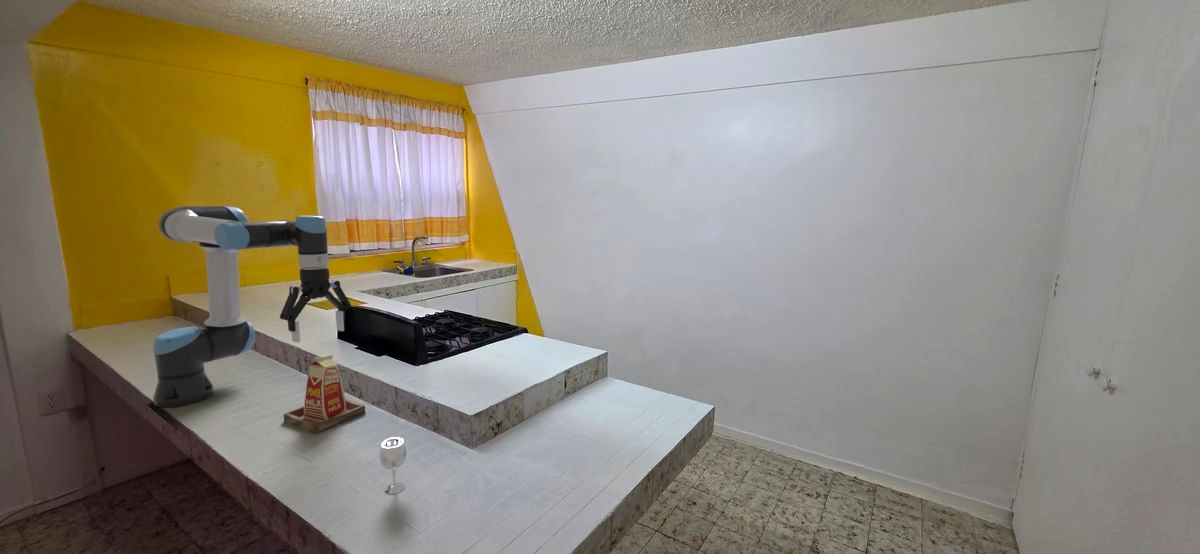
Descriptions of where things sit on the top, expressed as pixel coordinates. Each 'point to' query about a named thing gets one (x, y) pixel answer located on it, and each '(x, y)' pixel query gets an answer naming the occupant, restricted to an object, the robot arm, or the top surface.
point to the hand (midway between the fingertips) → (319, 335)
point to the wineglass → (393, 461)
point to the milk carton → (324, 391)
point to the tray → (316, 427)
